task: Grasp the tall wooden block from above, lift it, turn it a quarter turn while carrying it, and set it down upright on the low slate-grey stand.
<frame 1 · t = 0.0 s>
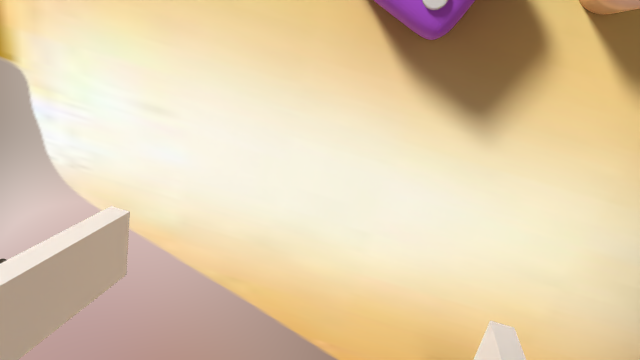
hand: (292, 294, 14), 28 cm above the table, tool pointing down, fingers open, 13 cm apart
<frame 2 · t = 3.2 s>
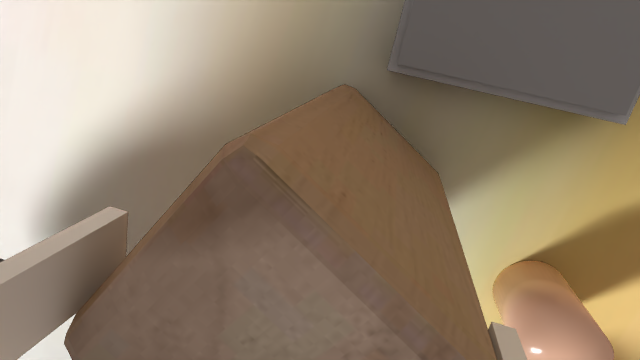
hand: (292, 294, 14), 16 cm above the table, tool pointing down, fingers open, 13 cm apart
peach rounded capsule part: (529, 291, 30), on the table
wooden block: (346, 175, 30), on the table, touching gripper
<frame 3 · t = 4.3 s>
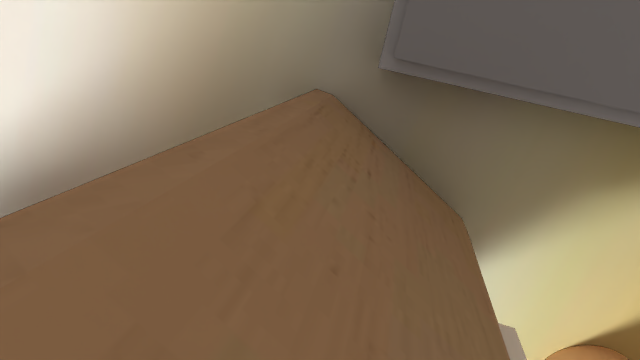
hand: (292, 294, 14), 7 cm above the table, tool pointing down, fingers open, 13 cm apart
wooden block: (328, 218, 21), on the table, touching gripper
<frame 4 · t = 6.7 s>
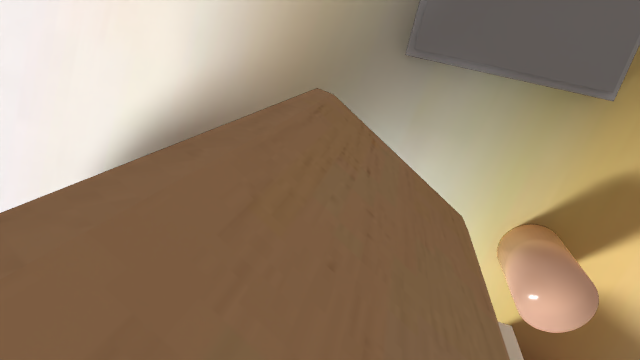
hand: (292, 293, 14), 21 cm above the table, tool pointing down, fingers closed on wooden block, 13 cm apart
peach rounded capsule part: (529, 252, 34), on the table
wooden block: (329, 217, 21), point 14 cm above the table, touching gripper
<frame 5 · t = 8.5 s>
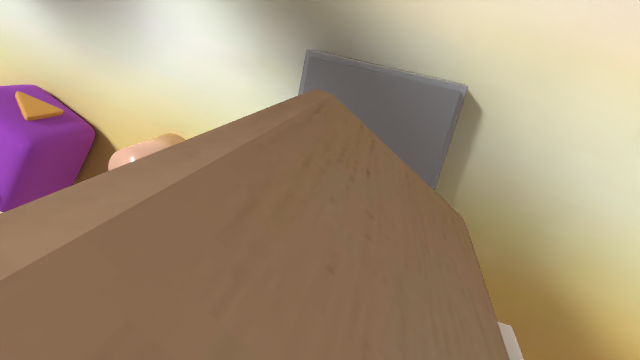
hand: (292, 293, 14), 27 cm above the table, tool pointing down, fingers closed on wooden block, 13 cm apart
peach rounded capsule part: (173, 156, 44), on the table
stand: (367, 140, 39), on the table
toy camera: (47, 129, 47), on the table
wooden block: (329, 218, 21), point 20 cm above the table, touching gripper
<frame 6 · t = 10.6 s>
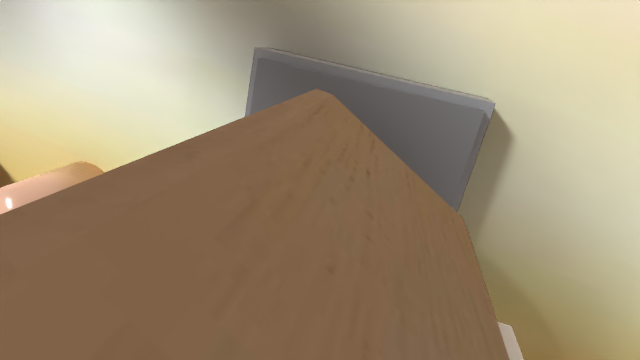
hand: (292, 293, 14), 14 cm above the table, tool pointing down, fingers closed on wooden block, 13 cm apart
peach rounded capsule part: (87, 191, 33), on the table
stand: (348, 175, 28), on the table
wooden block: (329, 218, 21), point 7 cm above the table, touching gripper
when the fingers open (11 cm above the table, at t = 12.5 s): wooden block drops 1 cm, resting on stand.
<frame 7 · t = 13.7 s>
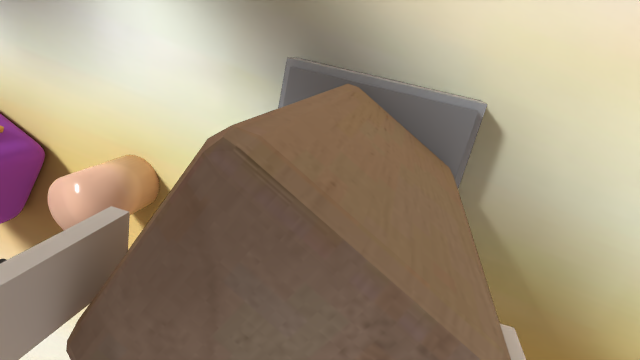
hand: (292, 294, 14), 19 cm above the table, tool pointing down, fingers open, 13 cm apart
peach rounded capsule part: (134, 181, 38), on the table
stand: (363, 166, 32), on the table
wooden block: (357, 175, 30), point 3 cm above the table, touching stand
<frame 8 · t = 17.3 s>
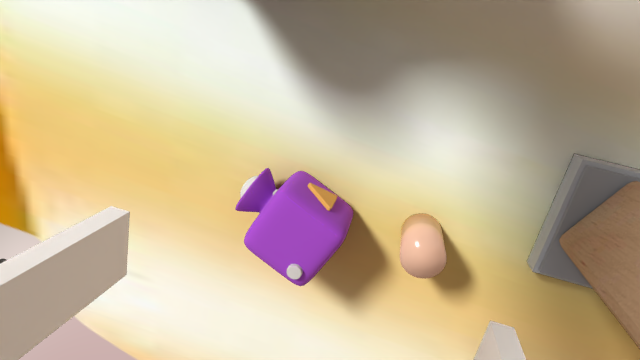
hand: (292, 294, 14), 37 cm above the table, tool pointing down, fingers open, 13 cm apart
peach rounded capsule part: (421, 231, 51), on the table
stand: (612, 226, 46), on the table
toy camera: (300, 204, 54), on the table
wooden block: (623, 236, 44), point 3 cm above the table, touching stand
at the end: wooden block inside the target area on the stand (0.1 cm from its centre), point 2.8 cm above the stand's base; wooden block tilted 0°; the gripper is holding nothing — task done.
